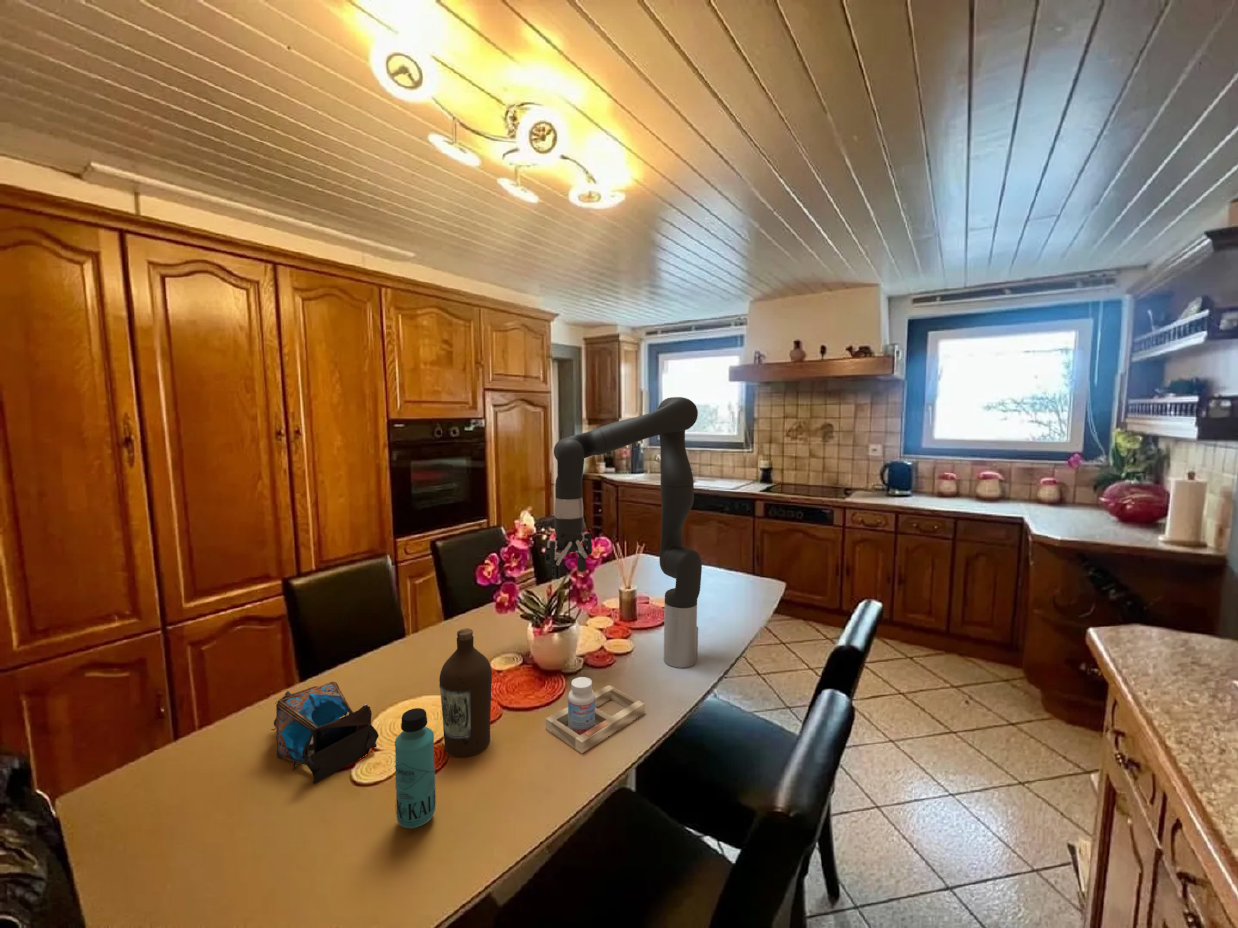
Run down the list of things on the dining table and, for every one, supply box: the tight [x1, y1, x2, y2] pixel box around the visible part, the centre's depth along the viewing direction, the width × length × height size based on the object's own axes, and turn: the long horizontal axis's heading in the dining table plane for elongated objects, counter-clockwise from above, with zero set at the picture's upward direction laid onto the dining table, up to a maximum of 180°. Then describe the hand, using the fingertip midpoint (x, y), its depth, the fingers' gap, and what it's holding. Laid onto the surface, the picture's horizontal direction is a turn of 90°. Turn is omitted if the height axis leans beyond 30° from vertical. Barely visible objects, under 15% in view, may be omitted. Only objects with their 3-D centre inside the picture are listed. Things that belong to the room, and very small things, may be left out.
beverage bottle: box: [394, 707, 437, 829], centre depth 87 cm, size 6×7×20 cm
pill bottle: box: [567, 676, 596, 735], centre depth 114 cm, size 6×6×11 cm
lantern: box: [270, 681, 380, 785], centre depth 107 cm, size 16×16×25 cm
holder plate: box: [545, 684, 646, 754], centre depth 118 cm, size 20×12×3 cm, turn 136°
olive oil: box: [438, 628, 493, 758], centre depth 108 cm, size 11×11×25 cm
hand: (569, 574), depth 135 cm, fingers open, 8 cm apart
